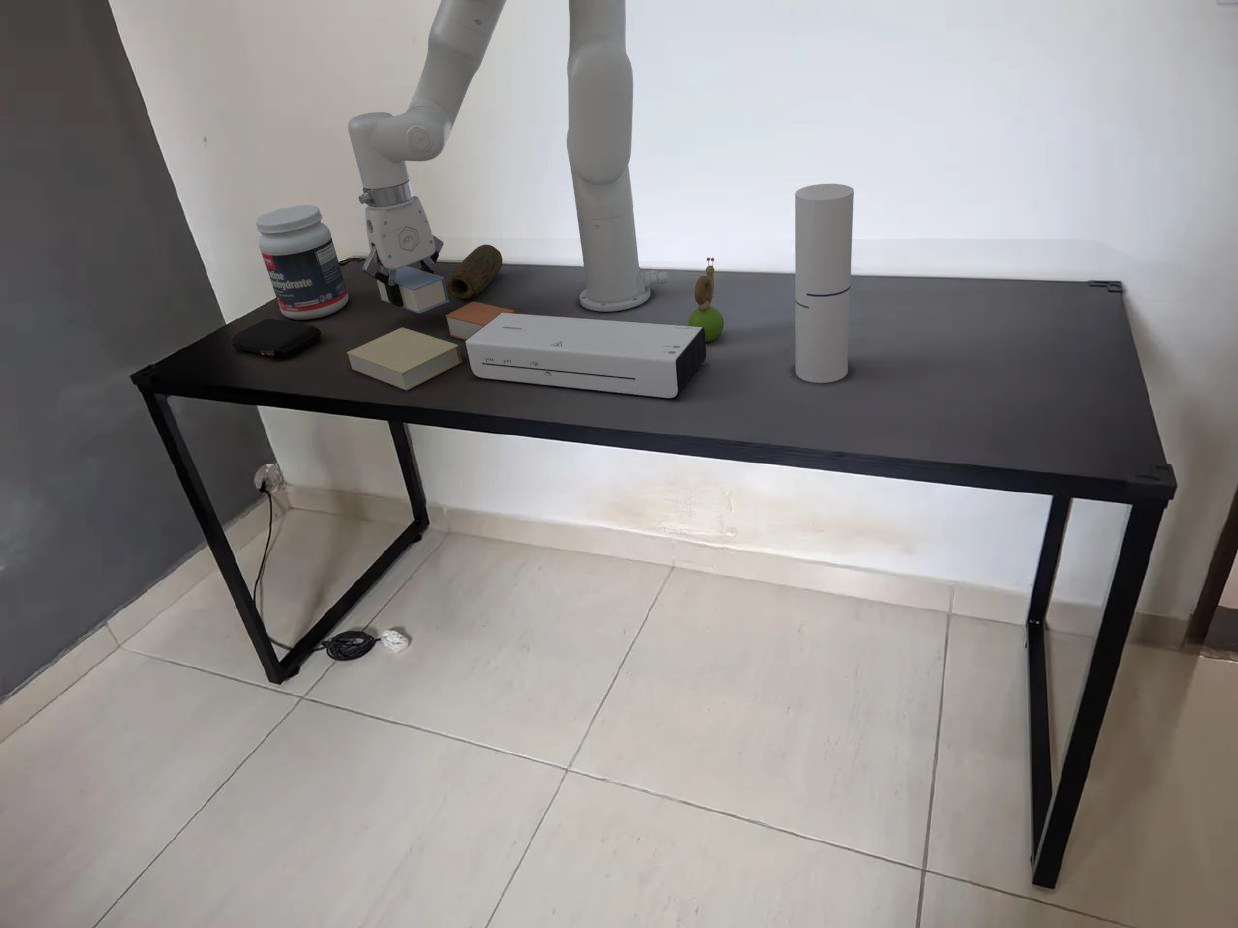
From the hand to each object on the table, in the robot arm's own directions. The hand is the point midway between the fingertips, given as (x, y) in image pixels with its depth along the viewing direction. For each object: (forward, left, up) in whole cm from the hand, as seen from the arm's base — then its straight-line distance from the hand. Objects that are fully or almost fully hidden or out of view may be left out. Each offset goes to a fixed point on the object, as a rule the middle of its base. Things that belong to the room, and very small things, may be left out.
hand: (414, 297), depth 151 cm
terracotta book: (-11, +9, -5) cm, 15 cm away
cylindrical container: (-58, +43, -5) cm, 72 cm away
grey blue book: (0, 0, -1) cm, 1 cm away
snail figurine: (-46, +26, -5) cm, 53 cm away
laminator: (-26, +30, -5) cm, 40 cm away
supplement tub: (+20, -17, -5) cm, 27 cm away
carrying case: (+25, -1, -5) cm, 26 cm away
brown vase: (-11, -14, -5) cm, 18 cm away
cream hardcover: (+2, +17, -5) cm, 18 cm away
